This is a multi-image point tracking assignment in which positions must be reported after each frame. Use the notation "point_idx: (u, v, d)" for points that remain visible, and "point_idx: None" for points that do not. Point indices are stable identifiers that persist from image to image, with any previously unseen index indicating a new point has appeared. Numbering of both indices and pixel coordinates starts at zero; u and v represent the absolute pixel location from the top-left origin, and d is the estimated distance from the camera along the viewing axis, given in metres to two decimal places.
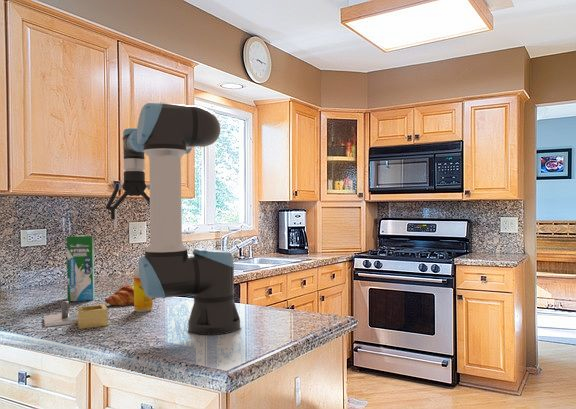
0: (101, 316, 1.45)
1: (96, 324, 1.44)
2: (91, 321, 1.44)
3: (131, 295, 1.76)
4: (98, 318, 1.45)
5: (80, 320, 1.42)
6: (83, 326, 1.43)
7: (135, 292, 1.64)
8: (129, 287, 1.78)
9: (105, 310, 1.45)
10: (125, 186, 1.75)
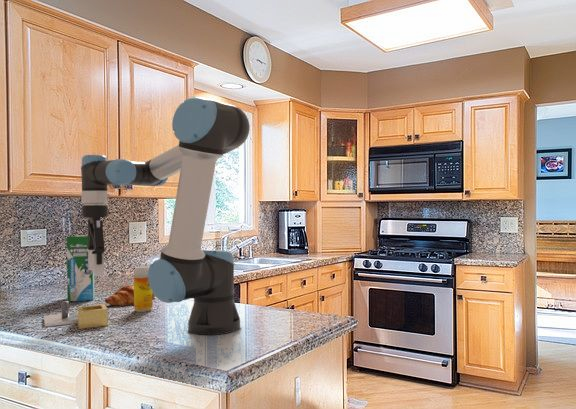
0: (101, 316, 1.45)
1: (96, 324, 1.44)
2: (91, 321, 1.44)
3: (131, 295, 1.76)
4: (98, 318, 1.45)
5: (80, 320, 1.42)
6: (83, 326, 1.43)
7: (135, 292, 1.64)
8: (129, 287, 1.78)
9: (105, 310, 1.45)
10: (90, 223, 1.52)
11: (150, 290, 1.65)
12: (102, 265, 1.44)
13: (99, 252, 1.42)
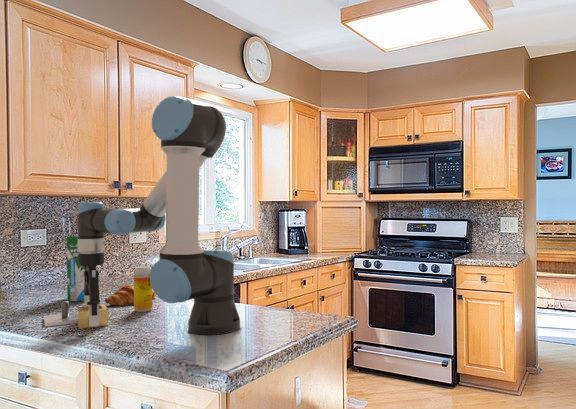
0: (101, 316, 1.45)
1: None
2: None
3: (131, 295, 1.76)
4: None
5: (80, 320, 1.42)
6: (83, 326, 1.43)
7: (135, 292, 1.64)
8: (129, 287, 1.78)
9: (105, 310, 1.45)
10: (86, 269, 1.50)
11: (150, 290, 1.65)
12: (97, 316, 1.42)
13: (94, 303, 1.39)
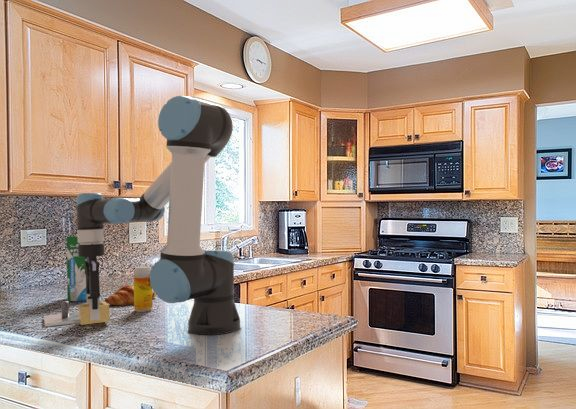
0: (102, 312, 1.45)
1: (98, 320, 1.44)
2: None
3: (131, 295, 1.76)
4: (100, 313, 1.44)
5: (82, 316, 1.42)
6: (85, 322, 1.42)
7: (135, 292, 1.64)
8: (129, 287, 1.78)
9: (106, 306, 1.45)
10: None
11: (150, 290, 1.65)
12: (98, 310, 1.43)
13: (94, 297, 1.41)
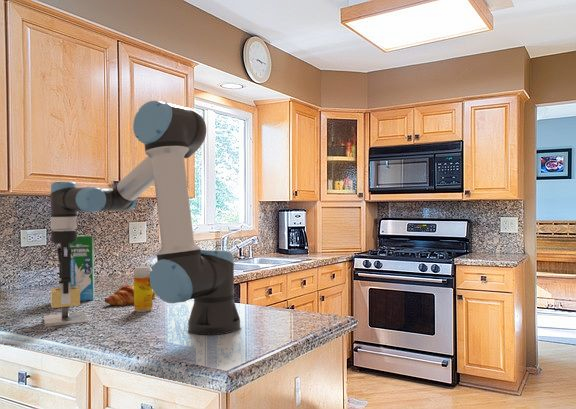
0: (73, 296, 1.51)
1: (68, 304, 1.50)
2: None
3: (130, 295, 1.76)
4: (71, 297, 1.50)
5: (53, 299, 1.48)
6: (56, 305, 1.48)
7: (135, 292, 1.64)
8: (129, 287, 1.78)
9: (77, 290, 1.51)
10: None
11: (150, 290, 1.65)
12: (69, 294, 1.49)
13: (65, 282, 1.47)
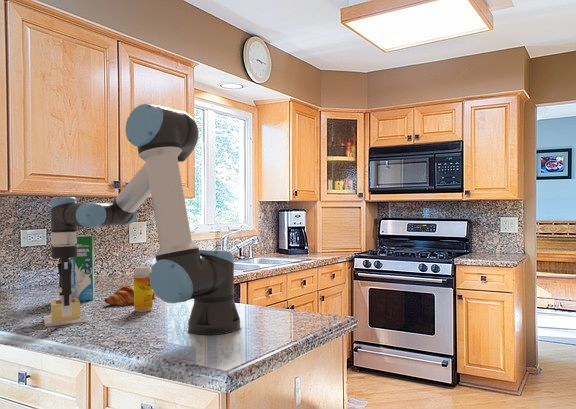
0: (73, 309, 1.51)
1: (69, 317, 1.50)
2: None
3: (130, 295, 1.76)
4: (71, 311, 1.50)
5: (53, 313, 1.48)
6: (56, 319, 1.48)
7: (135, 292, 1.64)
8: (129, 287, 1.78)
9: (77, 303, 1.51)
10: (60, 262, 1.55)
11: (150, 290, 1.65)
12: (70, 306, 1.47)
13: (66, 294, 1.45)
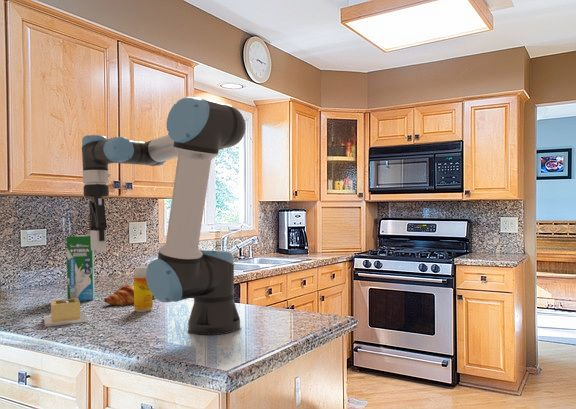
0: (73, 309, 1.51)
1: (69, 317, 1.50)
2: (64, 314, 1.49)
3: (130, 295, 1.76)
4: (71, 311, 1.50)
5: (53, 313, 1.48)
6: (56, 319, 1.48)
7: (135, 292, 1.64)
8: (128, 287, 1.78)
9: (77, 303, 1.51)
10: (91, 203, 1.55)
11: None
12: (105, 242, 1.47)
13: (101, 228, 1.45)
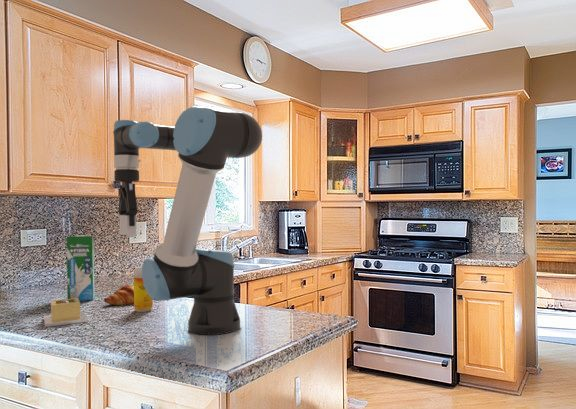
0: (73, 309, 1.51)
1: (69, 317, 1.50)
2: (64, 314, 1.49)
3: (130, 295, 1.76)
4: (71, 311, 1.50)
5: (53, 313, 1.48)
6: (56, 319, 1.48)
7: (135, 292, 1.64)
8: (128, 287, 1.79)
9: (77, 303, 1.51)
10: None
11: None
12: (134, 227, 1.48)
13: (132, 213, 1.45)
